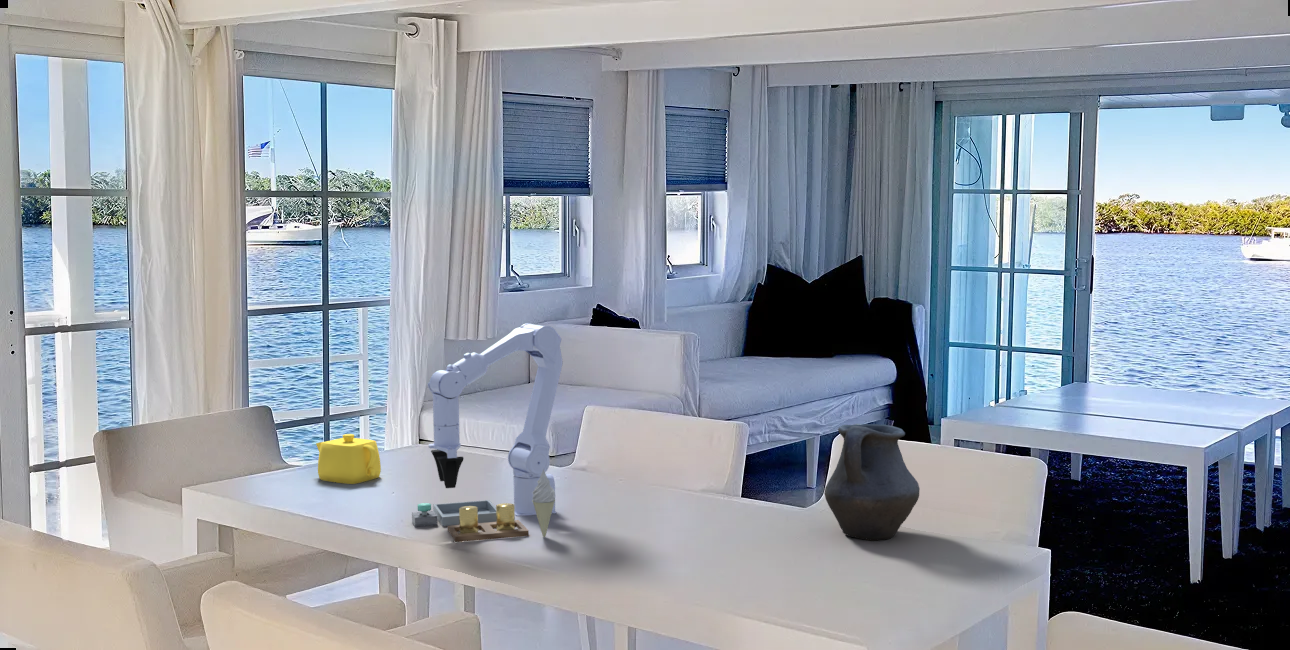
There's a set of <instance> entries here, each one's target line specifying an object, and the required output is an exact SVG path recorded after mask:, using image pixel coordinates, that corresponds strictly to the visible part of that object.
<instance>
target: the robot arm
mask: <svg viewBox="0 0 1290 650" xmlns="http://www.w3.org/2000/svg"><path fill="white" fill-rule="evenodd" d="M561 343H562V337H561V336H560V335H559V333H558V332H557V330H556V329H555V328H554V327H552V326H550V325H539V324H535V323H530V322H526V323H524V324H522V325H520V327H516V328H514V329H513V330H512V331H511V332H510V333H508V334H507V335H505V336H504V337H502V338H501V339H500V340H498V341H497V342H495V343H494V344H492V345H491V346H489V347H488V348H487V349H485V350H484V351H482V352H481V353H477V352H475V351H474V352H471V353H470V352H466V353H464V354H463V358H461V359H460V360H458V361H456V362H455V363H453V364H450V363H449V364H448V365H446V369H445V370H444V369H443V370H442V369H440V370H439V369H438V370H437V371H435V372H433V373H432V375H431V377H429V382H427V388H428V390H429V392H430V393H431V395H432V411H433V412H432V414H433V415H432V418H433V420H432V421H433V423H432V424H433V443H429V444H428V449H432V450H430V452H431V455H432V456H433V458H434V462H435V465H436V468H437V473H438V477H439V482H443V483H444V486H445V489H455V488H456V486H457V481H458V476H459V472H460V468H461V465H462V464H463V462H464V456H458V455H457V454H458V450H459V449H460V448H461V447H462V446H461V444H462V443H461V441H460V399H459V398H460V395H461V394H462V393H463V390H464V388H465V387H467V386H468V385H471V384H472V383H474V382H475V381H477V380H478V379H481V378H482V377H483V376H485V375H486V374H487V373H488V368H489V366H491V365H493V364H495V363H497V362H498V361H500V360H502V359H504V358H506V357H507V356H510V355H511V354H513V353H515V352H517V351H518V352H519V351H524V352H525V353H527V354H529V355H530V357H532V360H533V361H534V362H535V364H536V365H537V371H536V374H535V379H534V383H533V387H532V391H531V396H530V400H529V404H528V408H527V411H526V417H525V419H524V420H525V421H524V425H523V429H522V432H521V433H520V434H518V435H517V436H516V437H515V441H514V443H513V446H512V447H511V448H510V450H509V452H508V455H507V462H508V464H509V467H511V468H512V473H513V477H512V478H513V504H514V506H515V517H525V516H534V515H535V516H537V514H536V511H535V507H534V504H533V502H532V500H533V499H532V497H533V493H532V492H533V491H534V490H535V488H536V487H537V485H538V480H539V479H540V476H541V474H542V471H543V469H544V471H545V474H546V476H547V478H548V480H549V481H550V483H549V484H550V486H551V487H552V488H553V489H554V491H555V492H556V485H555V484H556V483H555V478H554V475H553V474H552V473H546V472H547V471H548V469H549V467H550V463H551V462H550V461H551V460H550V448H551V447H550V443H549V441H548V439H547V432H548V428H549V423H550V420H551V415H552V412H553V411H552V410H553V407H554V403H555V398H556V394H557V390H558V385H559V381H560V376H561V374H562V373H561V372H562V368H563V362H564V361H563V356H562V351H561V350H562V349H561ZM551 514H557V511H556V501H555V502H554V505H553V509H552V513H551Z"/></svg>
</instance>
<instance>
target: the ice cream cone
mask: <svg viewBox="0 0 1290 650" xmlns="http://www.w3.org/2000/svg"><path fill="white" fill-rule="evenodd" d="M546 474H547V473H546V472H545V471H544V469H543V471H542V474H541V476H540V479H539V480H538V485H537V487H536V488H535V490H534V491H533V492H532V493H533V497H532V499H533V500H532V502H533V504H534V507H535V511H536V514H537V515H536V518H537V521H538V525H539V528H540V531H541V533H542V538H546V537H547V531H548V528H549V523H550V520H551V518H552V514H553V513H552V509H553V505H554V502H555V503H556V490H555V491H554V489H553V488H552V487H551V486H550V484H549V483H550V481H549V480H548V478H547V476H546Z"/></svg>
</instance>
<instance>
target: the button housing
mask: <svg viewBox="0 0 1290 650" xmlns="http://www.w3.org/2000/svg"><path fill="white" fill-rule="evenodd" d="M438 522H439V520H438V519H437V515H436V513H435V512H434V511H433V510H430V511H427V515H423V516H422V511H418V512H417V511H415V512H411V523H412V525H413V526H414V528H421V527H424V528H425V527H434V526H438V524H439V523H438Z"/></svg>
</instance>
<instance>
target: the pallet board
mask: <svg viewBox="0 0 1290 650" xmlns="http://www.w3.org/2000/svg"><path fill="white" fill-rule="evenodd" d="M515 527H516V528H515V529H513V530H501V531H497V530H495V529H497V524H496V522H488V523H478V530H481V531H480V532H479V531H478V532H477V533H465V534H460V533H458V532H460V525H451V526H447V531H448V532H449V534H450V535H451V537H452V538H453V540H454V542H455V543H459V542H461V543H462V541H464V542H473V541H474V542H475V541H485V540H495V539H508V538H509V539H510V538H521V537H529V531H530V530H529V529H528V528H527V527H526V526H525V525H524V524H523V523H522V522H521V521H520V520H519V519H515Z"/></svg>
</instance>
